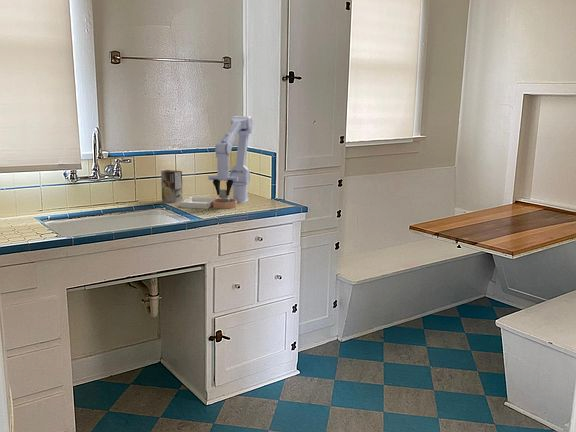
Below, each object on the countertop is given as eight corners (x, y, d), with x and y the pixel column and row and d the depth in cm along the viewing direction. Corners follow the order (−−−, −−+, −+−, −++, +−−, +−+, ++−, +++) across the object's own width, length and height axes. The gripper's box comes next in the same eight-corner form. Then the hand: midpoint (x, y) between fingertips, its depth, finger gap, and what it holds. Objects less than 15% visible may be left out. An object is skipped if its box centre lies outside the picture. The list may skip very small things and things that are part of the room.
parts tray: (192, 201, 317) (192, 196, 317) (217, 203, 315) (217, 197, 314) (180, 208, 300) (180, 202, 299) (207, 209, 298) (207, 203, 297)
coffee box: (183, 201, 317) (182, 170, 313) (175, 203, 311) (174, 172, 308) (169, 200, 321) (168, 169, 317) (161, 201, 315) (160, 170, 312)
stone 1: (220, 196, 303) (220, 189, 302) (228, 196, 302) (228, 189, 302) (217, 197, 299) (217, 190, 298) (226, 198, 298) (226, 190, 297)
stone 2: (222, 204, 309) (222, 197, 308) (230, 204, 308) (230, 197, 308) (220, 205, 305) (220, 198, 304) (229, 206, 304) (229, 199, 303)
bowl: (216, 204, 311) (216, 197, 310) (239, 205, 309) (239, 198, 308) (209, 209, 300) (209, 202, 299) (233, 210, 298) (233, 203, 297)
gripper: (206, 167, 295) (206, 195, 298) (235, 169, 293) (235, 197, 295) (210, 166, 302) (210, 193, 305) (239, 167, 299) (239, 194, 302)
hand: (223, 195), depth 300 cm, fingers closed on stone 1, 4 cm apart
